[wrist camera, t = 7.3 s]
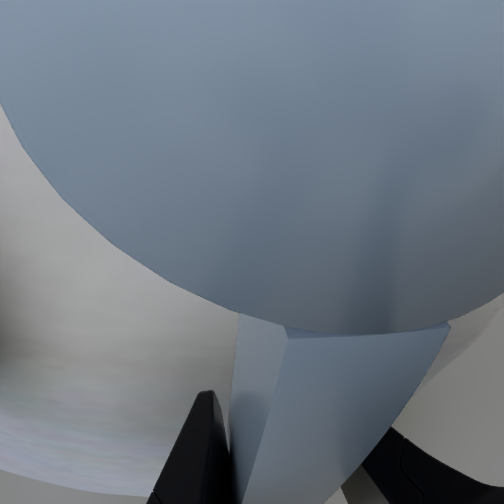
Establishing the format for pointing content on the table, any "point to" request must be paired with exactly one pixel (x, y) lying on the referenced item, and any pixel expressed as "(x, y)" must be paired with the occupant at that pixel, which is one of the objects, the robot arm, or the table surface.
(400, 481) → the robot arm
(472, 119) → the blue scoop
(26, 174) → the table surface
